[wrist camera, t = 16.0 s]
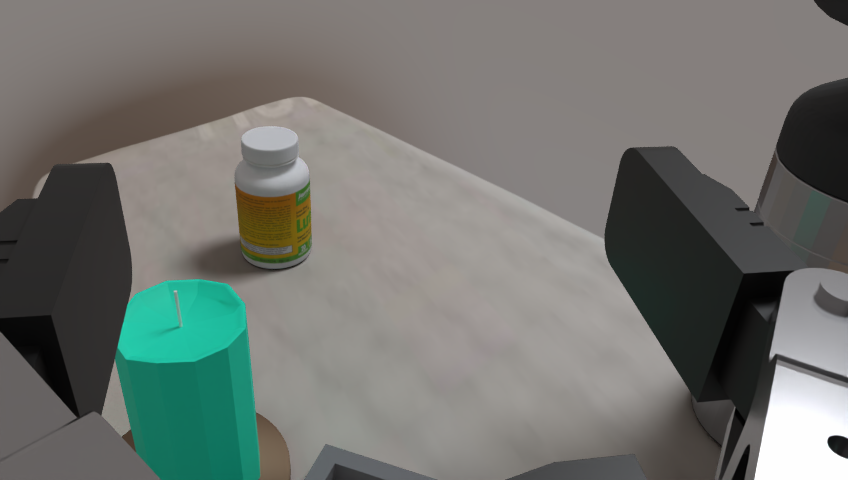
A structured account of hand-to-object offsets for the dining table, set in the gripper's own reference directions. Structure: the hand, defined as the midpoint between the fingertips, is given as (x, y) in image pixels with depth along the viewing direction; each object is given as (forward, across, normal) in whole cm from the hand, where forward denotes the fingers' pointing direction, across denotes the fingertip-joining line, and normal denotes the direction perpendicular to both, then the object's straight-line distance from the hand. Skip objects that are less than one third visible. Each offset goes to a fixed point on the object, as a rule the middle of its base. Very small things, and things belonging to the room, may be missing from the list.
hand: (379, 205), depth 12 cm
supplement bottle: (+39, +3, +28) cm, 48 cm away
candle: (+18, +7, +27) cm, 33 cm away
